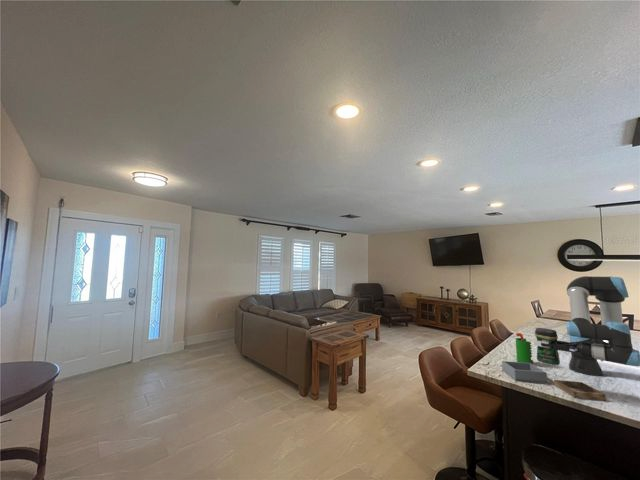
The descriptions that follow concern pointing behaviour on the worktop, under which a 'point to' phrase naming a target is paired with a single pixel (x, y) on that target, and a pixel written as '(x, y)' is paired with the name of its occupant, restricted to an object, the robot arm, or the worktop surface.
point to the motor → (523, 350)
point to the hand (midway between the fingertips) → (535, 341)
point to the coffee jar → (546, 353)
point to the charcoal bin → (524, 372)
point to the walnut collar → (590, 393)
